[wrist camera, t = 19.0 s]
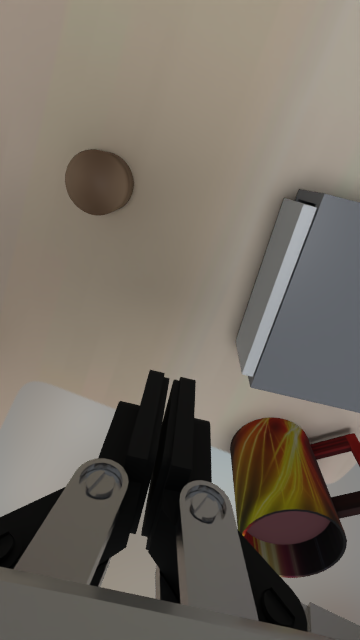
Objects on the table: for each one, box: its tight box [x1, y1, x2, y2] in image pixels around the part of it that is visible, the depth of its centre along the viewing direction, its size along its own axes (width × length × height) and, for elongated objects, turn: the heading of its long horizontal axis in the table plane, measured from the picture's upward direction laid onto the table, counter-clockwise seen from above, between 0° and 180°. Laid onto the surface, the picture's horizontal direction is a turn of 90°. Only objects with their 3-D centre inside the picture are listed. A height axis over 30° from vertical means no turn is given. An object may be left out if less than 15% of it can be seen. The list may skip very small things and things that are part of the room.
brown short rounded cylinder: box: [65, 149, 134, 215], centre depth 29 cm, size 5×5×4 cm
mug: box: [230, 418, 360, 578], centre depth 36 cm, size 10×14×12 cm
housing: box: [248, 189, 360, 413], centre depth 31 cm, size 14×17×7 cm
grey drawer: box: [236, 198, 317, 377], centre depth 30 cm, size 13×15×6 cm
